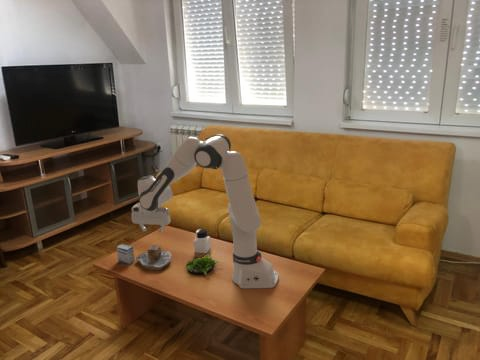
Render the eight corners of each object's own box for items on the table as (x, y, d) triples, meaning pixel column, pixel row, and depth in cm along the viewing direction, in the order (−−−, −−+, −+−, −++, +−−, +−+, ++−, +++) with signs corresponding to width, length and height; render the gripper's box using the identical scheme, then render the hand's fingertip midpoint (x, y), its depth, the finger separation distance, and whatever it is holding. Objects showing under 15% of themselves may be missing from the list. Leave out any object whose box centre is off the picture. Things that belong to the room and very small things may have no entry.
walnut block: (161, 255, 221) (160, 245, 219) (157, 260, 217) (156, 250, 215) (152, 254, 222) (151, 244, 220) (148, 259, 218) (147, 249, 216)
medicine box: (118, 261, 222) (115, 247, 219) (123, 257, 226) (121, 243, 223) (129, 264, 218) (127, 250, 216) (135, 260, 222) (133, 246, 219)
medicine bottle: (210, 247, 233) (209, 228, 229) (206, 253, 226) (205, 233, 222) (199, 246, 235) (197, 227, 231) (194, 252, 228) (192, 232, 224)
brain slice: (180, 259, 222) (180, 254, 221) (158, 274, 209) (157, 269, 208) (153, 251, 232) (153, 246, 231) (131, 265, 219) (130, 260, 218)
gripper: (170, 204, 211) (173, 229, 215) (134, 203, 216) (137, 227, 220) (166, 209, 205) (169, 235, 210) (128, 208, 210) (132, 233, 214)
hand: (152, 231), depth 215 cm, fingers open, 8 cm apart
